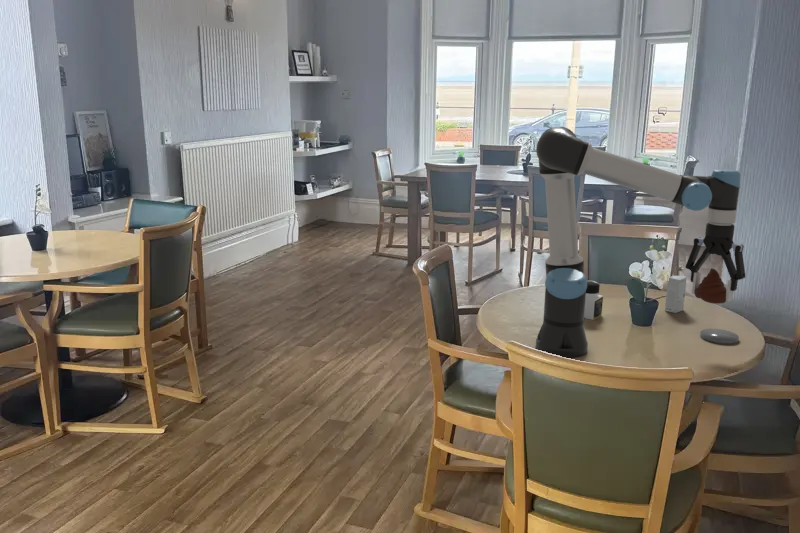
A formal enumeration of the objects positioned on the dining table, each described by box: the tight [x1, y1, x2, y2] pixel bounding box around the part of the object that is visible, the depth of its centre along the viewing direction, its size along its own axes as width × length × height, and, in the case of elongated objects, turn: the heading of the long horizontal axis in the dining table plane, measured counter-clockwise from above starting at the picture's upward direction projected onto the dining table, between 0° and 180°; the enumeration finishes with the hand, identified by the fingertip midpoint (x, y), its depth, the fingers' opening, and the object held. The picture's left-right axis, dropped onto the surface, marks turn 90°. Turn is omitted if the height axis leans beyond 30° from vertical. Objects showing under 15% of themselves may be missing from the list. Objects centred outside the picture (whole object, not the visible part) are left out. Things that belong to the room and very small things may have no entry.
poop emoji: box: [694, 268, 728, 304], centre depth 207 cm, size 10×8×9 cm
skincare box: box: [664, 274, 687, 314], centre depth 245 cm, size 6×4×12 cm
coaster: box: [699, 328, 739, 345], centre depth 219 cm, size 11×11×1 cm
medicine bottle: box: [584, 280, 604, 321], centre depth 238 cm, size 7×7×12 cm
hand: (711, 296), depth 208 cm, fingers closed on poop emoji, 9 cm apart
